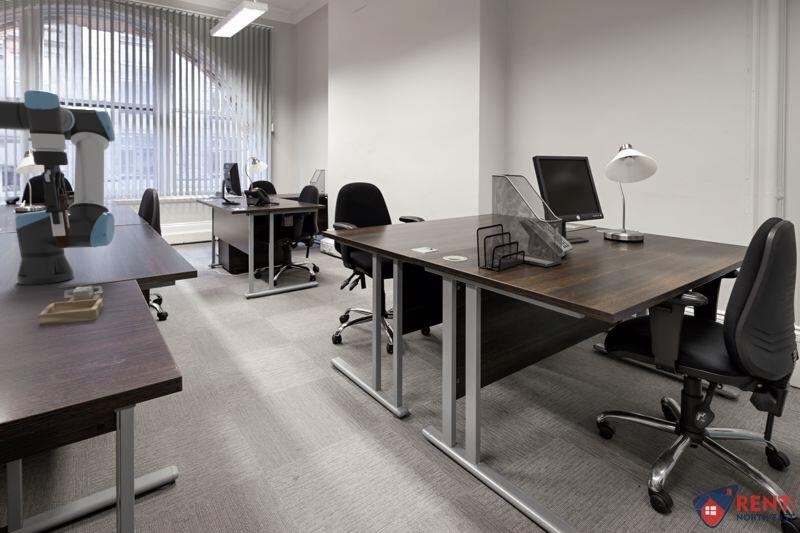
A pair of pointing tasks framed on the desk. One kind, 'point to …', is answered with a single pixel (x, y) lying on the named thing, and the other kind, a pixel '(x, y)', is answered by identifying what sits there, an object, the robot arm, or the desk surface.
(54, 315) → the socket
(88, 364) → the desk surface
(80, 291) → the grey rectangular block
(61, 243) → the bolt
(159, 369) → the desk surface
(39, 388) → the desk surface
